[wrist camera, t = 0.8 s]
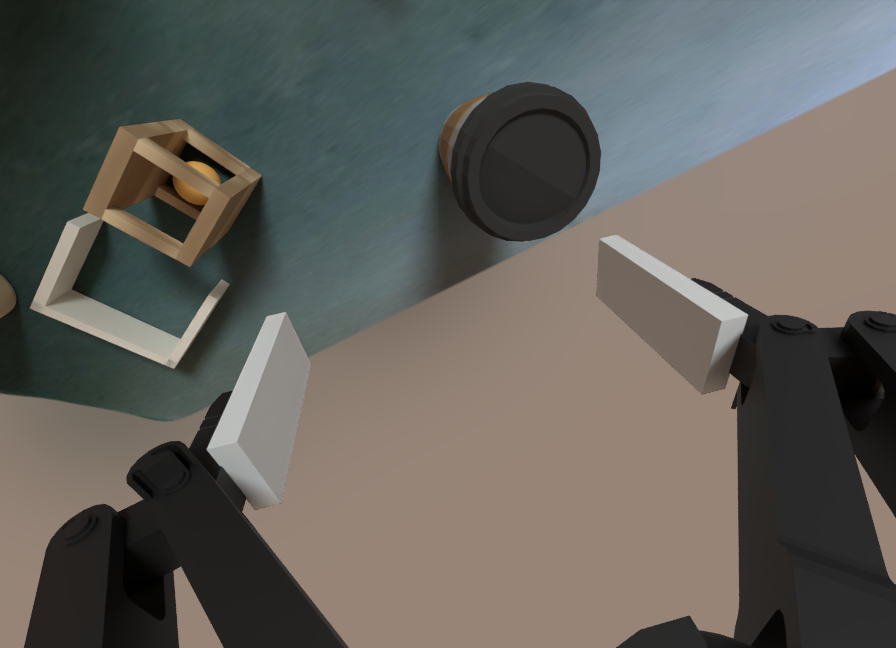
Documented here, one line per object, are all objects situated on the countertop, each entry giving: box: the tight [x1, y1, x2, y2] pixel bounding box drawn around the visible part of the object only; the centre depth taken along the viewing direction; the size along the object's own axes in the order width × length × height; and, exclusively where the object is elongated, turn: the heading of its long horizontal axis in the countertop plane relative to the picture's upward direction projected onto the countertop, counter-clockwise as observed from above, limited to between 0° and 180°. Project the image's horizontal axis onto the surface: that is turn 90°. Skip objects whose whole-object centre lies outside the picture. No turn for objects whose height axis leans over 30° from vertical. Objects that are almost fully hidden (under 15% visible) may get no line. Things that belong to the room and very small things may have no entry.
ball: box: [173, 161, 222, 205], centre depth 30 cm, size 3×3×3 cm
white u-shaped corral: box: [30, 213, 230, 369], centre depth 33 cm, size 11×9×3 cm
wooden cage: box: [83, 119, 262, 267], centre depth 28 cm, size 6×6×8 cm
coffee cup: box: [438, 82, 601, 241], centre depth 26 cm, size 8×8×15 cm
